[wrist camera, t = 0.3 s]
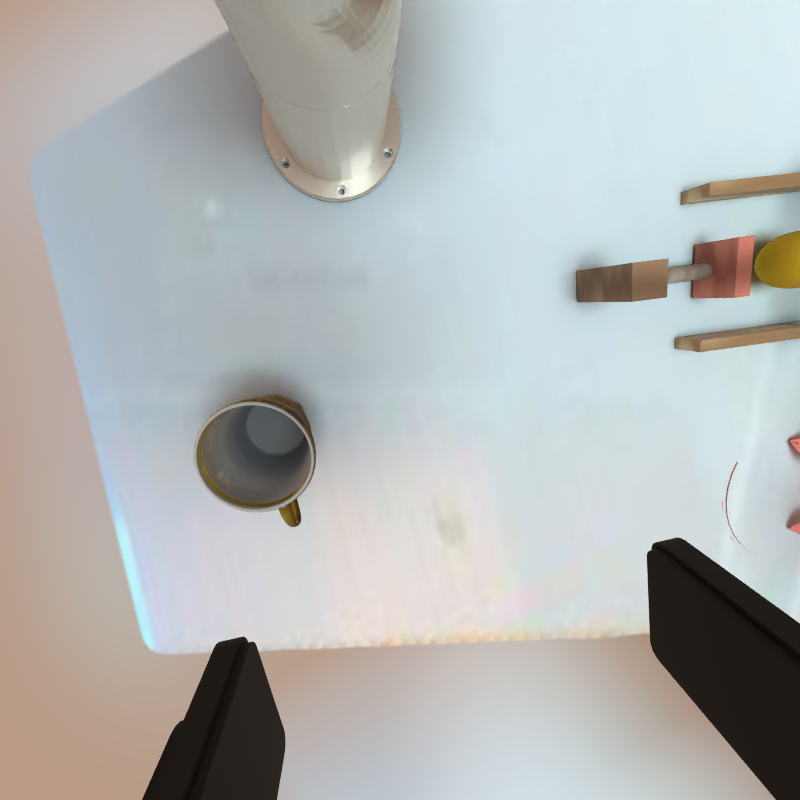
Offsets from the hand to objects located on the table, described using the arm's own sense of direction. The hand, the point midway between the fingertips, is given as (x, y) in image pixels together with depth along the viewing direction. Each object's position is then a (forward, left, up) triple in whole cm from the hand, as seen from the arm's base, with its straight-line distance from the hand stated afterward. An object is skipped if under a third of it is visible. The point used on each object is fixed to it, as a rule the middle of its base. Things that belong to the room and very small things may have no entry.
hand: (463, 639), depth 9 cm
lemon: (-7, +43, -36) cm, 56 cm away
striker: (-7, +29, -35) cm, 46 cm away
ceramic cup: (+5, -11, -36) cm, 38 cm away
